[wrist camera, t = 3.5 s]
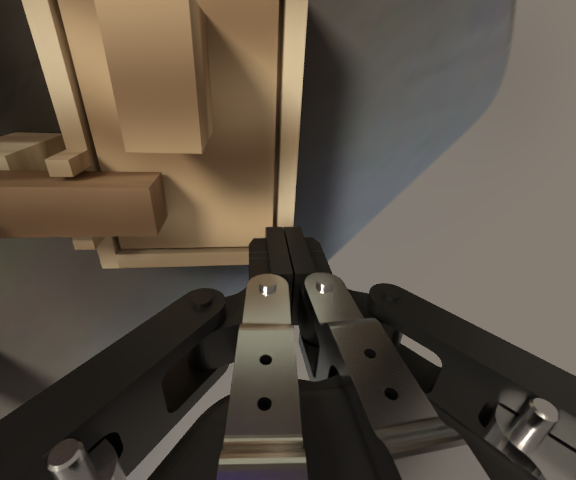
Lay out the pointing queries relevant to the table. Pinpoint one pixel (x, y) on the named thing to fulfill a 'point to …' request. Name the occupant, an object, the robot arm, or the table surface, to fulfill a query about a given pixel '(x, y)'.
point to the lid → (184, 108)
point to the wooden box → (82, 154)
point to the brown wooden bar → (81, 204)
